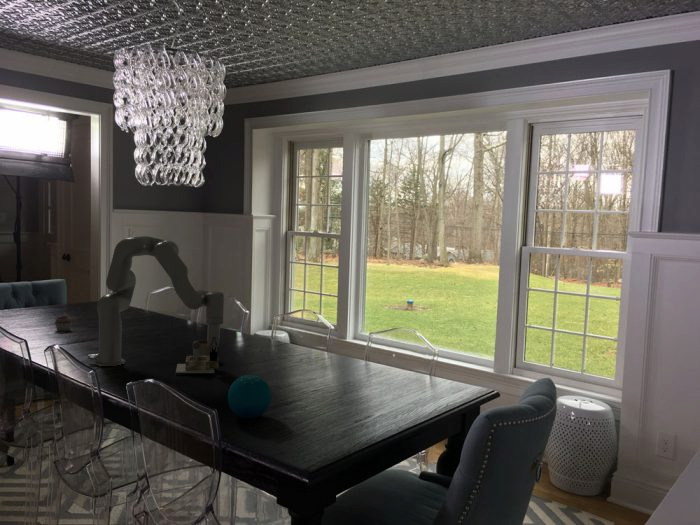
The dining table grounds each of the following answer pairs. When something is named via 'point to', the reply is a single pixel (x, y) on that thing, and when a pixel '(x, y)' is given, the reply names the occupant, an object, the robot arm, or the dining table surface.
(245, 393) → the decorative orb
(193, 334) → the dining table surface
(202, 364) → the birch loop
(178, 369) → the post stand
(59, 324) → the cupcake
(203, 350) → the flower pot
